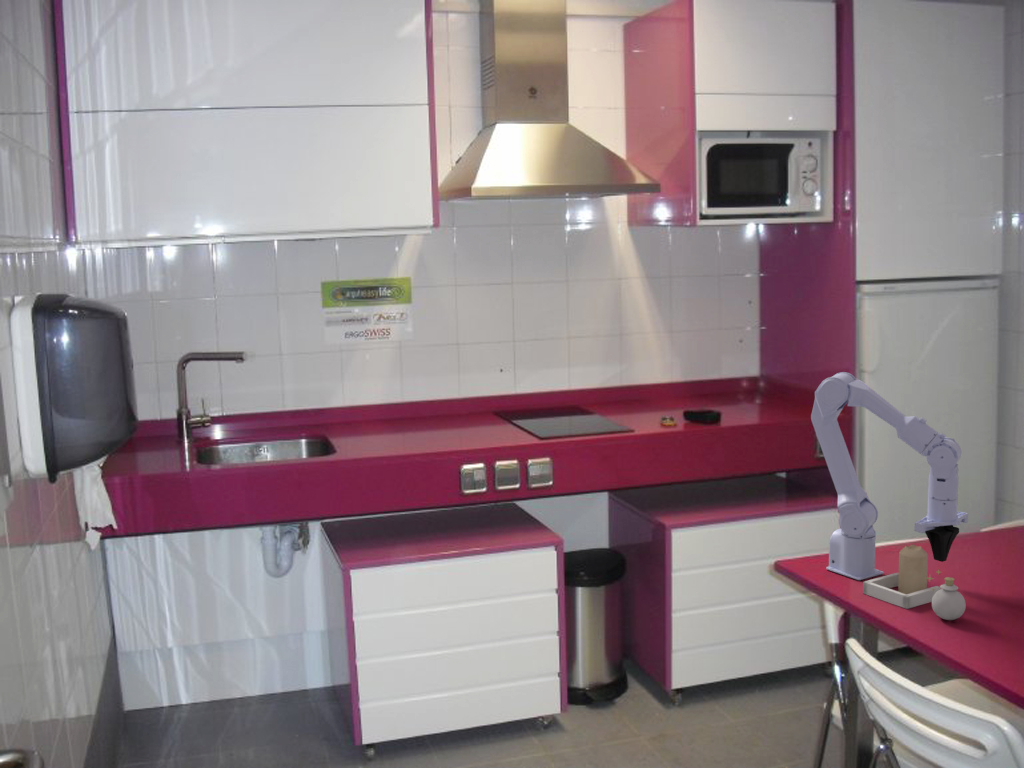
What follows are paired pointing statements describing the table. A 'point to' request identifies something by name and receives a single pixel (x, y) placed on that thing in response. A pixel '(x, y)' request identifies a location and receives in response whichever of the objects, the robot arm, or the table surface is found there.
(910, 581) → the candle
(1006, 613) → the table surface
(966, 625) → the table surface
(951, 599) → the round potion bottle
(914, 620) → the table surface
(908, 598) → the box
